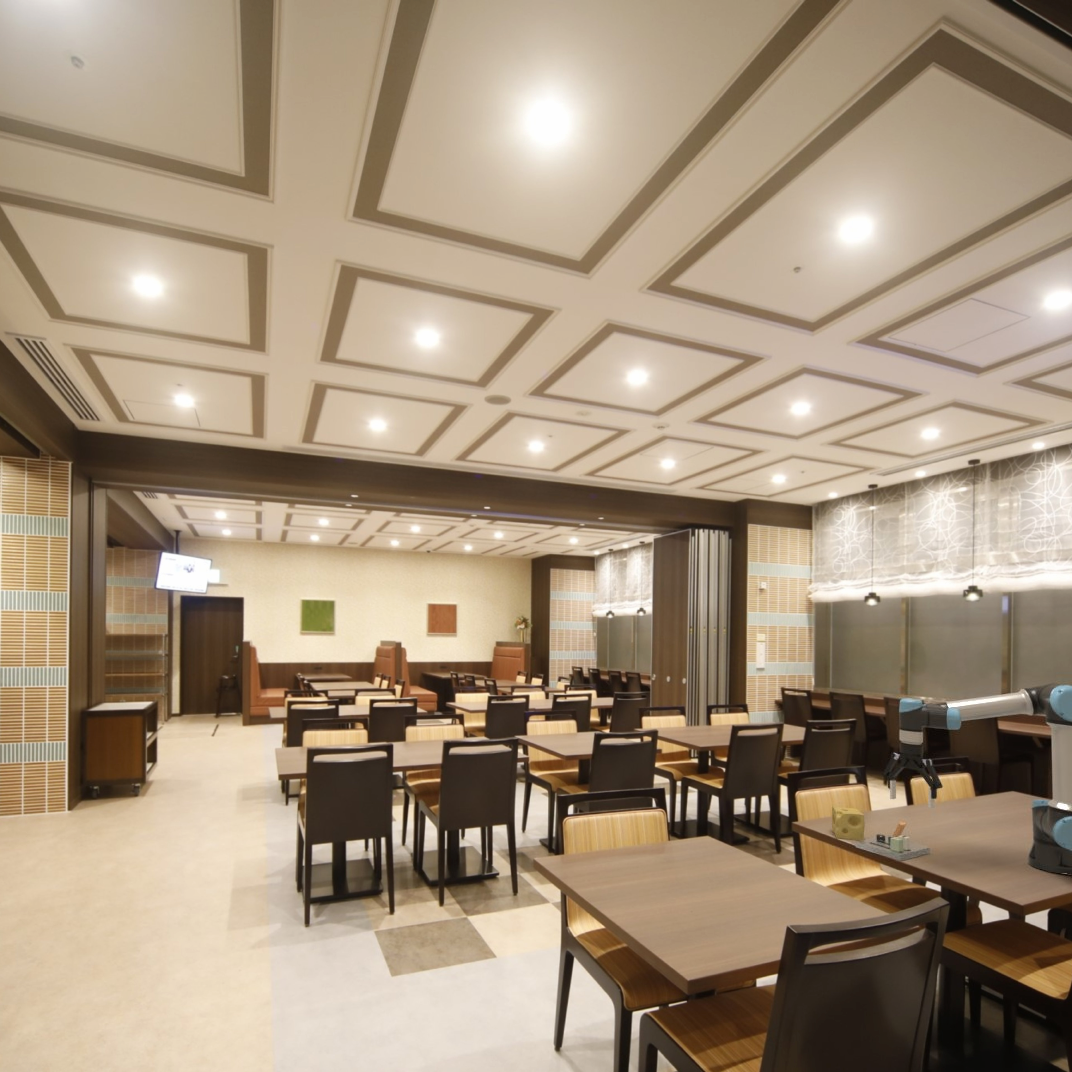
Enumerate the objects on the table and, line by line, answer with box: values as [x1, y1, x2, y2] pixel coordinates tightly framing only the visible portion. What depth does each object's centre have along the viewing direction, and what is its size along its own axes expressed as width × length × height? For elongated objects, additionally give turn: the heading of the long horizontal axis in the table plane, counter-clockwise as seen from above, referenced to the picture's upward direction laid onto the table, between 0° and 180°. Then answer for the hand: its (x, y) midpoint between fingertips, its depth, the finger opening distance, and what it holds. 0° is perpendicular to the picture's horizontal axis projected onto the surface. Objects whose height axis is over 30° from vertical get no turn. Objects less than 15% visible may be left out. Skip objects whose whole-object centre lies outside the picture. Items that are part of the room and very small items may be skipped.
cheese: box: [831, 806, 866, 841], centre depth 274 cm, size 10×11×10 cm
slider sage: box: [890, 836, 903, 852], centre depth 251 cm, size 3×3×4 cm
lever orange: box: [892, 821, 906, 837], centre depth 261 cm, size 1×3×8 cm, turn 122°
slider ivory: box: [898, 834, 911, 850], centre depth 253 cm, size 3×3×4 cm
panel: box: [854, 833, 931, 862], centre depth 258 cm, size 17×20×4 cm
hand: (911, 803), depth 250 cm, fingers open, 13 cm apart
